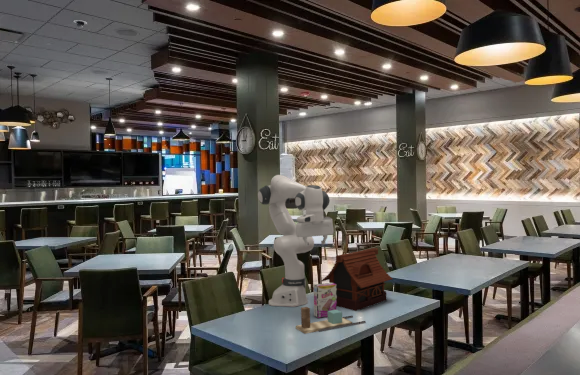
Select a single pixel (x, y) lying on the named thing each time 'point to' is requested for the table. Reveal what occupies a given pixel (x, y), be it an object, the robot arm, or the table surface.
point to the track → (342, 325)
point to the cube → (334, 316)
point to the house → (358, 279)
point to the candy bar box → (324, 299)
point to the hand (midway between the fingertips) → (315, 245)
